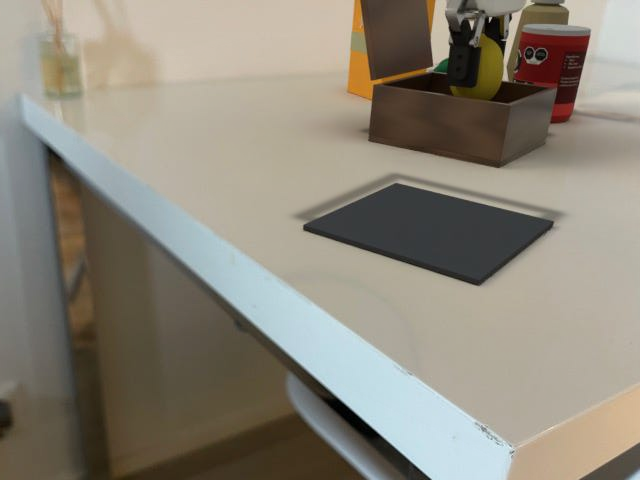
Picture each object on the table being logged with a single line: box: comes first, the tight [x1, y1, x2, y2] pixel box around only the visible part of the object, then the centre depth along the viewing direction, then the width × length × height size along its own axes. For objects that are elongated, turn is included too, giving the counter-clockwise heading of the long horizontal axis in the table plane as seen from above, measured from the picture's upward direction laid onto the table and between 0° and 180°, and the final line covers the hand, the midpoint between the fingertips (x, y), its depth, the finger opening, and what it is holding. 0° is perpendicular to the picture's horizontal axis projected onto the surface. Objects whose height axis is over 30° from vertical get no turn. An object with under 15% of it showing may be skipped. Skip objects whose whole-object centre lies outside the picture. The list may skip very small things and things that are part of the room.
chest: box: [367, 70, 557, 169], centre depth 73 cm, size 15×13×6 cm
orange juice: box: [346, 0, 436, 101], centre depth 94 cm, size 8×9×20 cm
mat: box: [302, 182, 555, 286], centre depth 51 cm, size 14×14×1 cm
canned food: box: [512, 24, 592, 123], centre depth 85 cm, size 8×8×11 cm
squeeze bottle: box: [506, 0, 570, 82], centre depth 98 cm, size 8×8×18 cm
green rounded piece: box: [432, 57, 449, 73], centre depth 115 cm, size 9×4×6 cm
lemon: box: [450, 33, 505, 101], centre depth 71 cm, size 6×6×8 cm
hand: (473, 80), depth 71 cm, fingers closed on lemon, 5 cm apart
